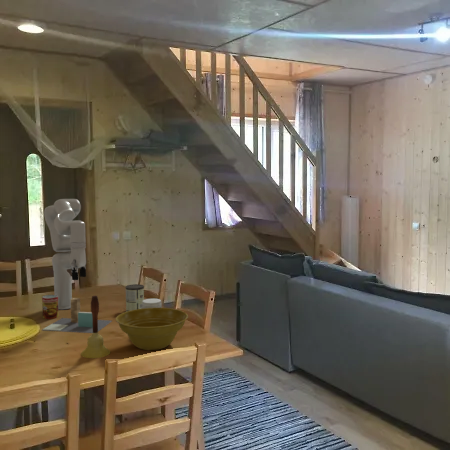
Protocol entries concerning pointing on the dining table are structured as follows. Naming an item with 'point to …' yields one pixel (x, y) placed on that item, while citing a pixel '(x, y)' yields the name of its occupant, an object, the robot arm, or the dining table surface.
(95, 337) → the handbell
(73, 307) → the tan wooden block
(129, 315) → the planter bowl
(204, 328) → the dining table surface
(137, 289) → the coffee can
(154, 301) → the supplement tub
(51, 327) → the pad
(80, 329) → the mat
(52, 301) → the canned food
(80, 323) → the tile
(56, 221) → the robot arm
